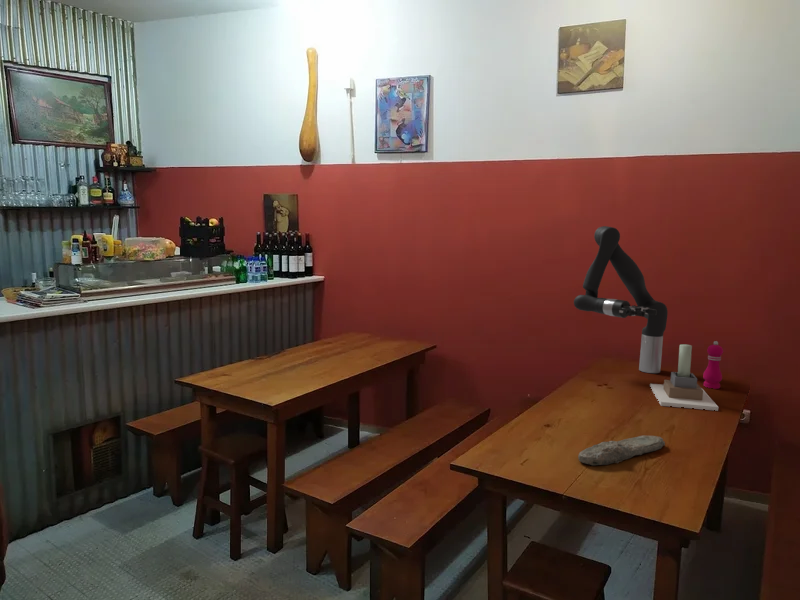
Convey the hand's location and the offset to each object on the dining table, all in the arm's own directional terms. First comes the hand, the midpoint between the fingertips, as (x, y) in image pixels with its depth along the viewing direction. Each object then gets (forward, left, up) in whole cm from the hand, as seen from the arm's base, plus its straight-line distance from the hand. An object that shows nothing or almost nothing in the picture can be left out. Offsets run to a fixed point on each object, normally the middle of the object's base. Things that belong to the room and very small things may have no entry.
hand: (650, 313), depth 248 cm
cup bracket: (+11, +13, -32) cm, 36 cm away
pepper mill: (-11, +29, -32) cm, 44 cm away
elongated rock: (+78, -17, -33) cm, 86 cm away
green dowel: (+11, +12, -26) cm, 31 cm away
